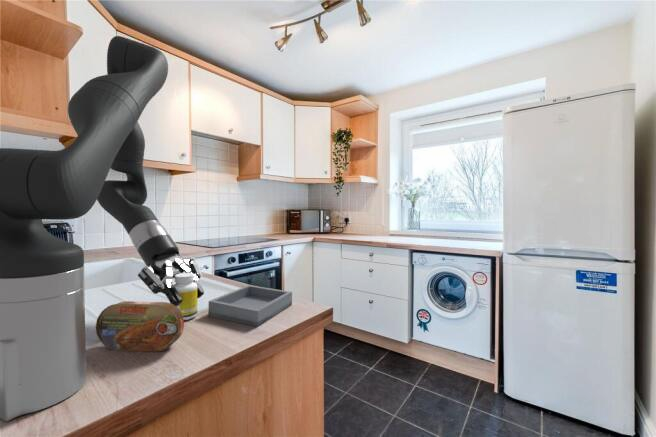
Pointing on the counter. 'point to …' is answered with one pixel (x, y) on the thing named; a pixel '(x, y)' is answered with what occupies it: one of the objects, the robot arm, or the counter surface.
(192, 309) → the supplement bottle
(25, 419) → the counter surface
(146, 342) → the tin
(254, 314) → the tray
